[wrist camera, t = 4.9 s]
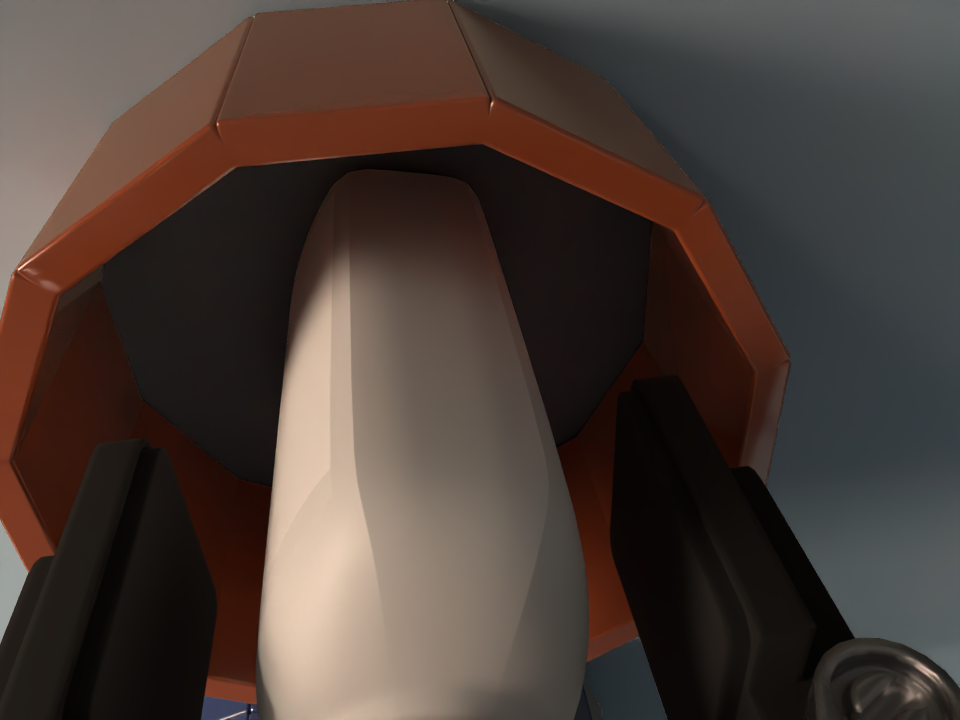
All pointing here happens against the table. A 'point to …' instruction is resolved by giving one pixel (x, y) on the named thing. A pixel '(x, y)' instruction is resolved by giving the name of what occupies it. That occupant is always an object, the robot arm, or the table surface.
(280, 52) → the brown round container
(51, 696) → the robot arm
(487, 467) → the eye dropper bottle
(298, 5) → the table surface
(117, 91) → the table surface
